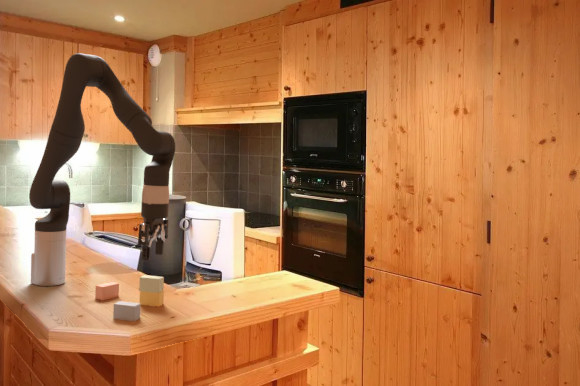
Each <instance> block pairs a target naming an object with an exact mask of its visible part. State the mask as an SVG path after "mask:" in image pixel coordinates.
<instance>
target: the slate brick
mask: <svg viewBox="0 0 580 386" xmlns="http://www.w3.org/2000/svg"><path fill="white" fill-rule="evenodd" d="M141 306H142V305H141V303H140V302H134V301H133V302H130V301H122V300H118V301H117V302H115V303H113V310H112V311H113V312H112V313H113V319H114V320H122V321H130V322H136V321H137V320H139V319H140V318H141Z"/></svg>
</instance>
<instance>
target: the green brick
mask: <svg viewBox="0 0 580 386" xmlns="http://www.w3.org/2000/svg"><path fill="white" fill-rule="evenodd" d="M164 283H165V277H164V276H158V275H148V274H144V275H142V276H139V290H138V291H139V292H140V291H144V292H154V293H160V292H162V291H164Z"/></svg>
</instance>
